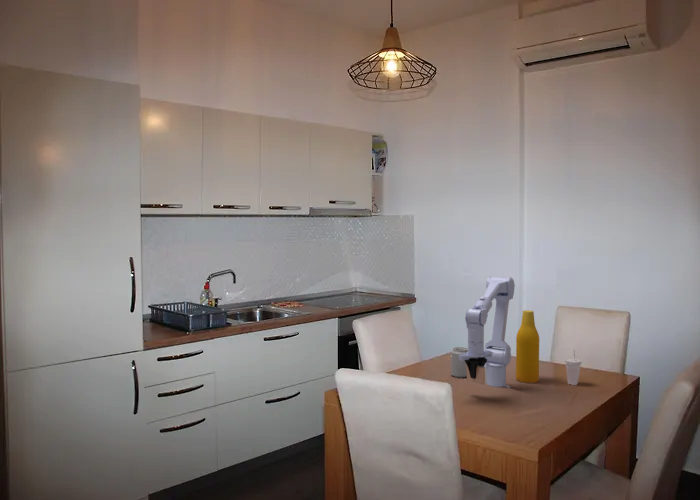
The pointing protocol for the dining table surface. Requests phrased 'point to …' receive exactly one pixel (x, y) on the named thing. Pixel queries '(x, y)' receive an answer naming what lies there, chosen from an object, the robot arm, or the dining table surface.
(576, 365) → the smoothie
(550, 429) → the dining table surface
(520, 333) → the beer bottle
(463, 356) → the robot arm
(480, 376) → the tile
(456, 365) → the can
